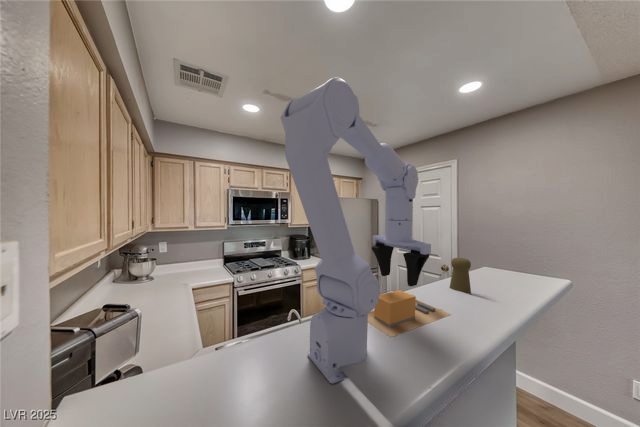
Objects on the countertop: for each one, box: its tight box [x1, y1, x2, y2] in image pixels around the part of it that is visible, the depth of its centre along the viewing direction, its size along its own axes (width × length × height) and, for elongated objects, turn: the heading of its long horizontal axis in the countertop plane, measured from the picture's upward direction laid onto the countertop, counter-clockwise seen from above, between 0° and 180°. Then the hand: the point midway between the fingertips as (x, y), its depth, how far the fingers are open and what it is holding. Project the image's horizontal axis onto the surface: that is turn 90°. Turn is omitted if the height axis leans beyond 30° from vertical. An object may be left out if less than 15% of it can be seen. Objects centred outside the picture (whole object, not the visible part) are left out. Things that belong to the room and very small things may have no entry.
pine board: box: [368, 299, 452, 338], centre depth 53 cm, size 20×10×2 cm, turn 120°
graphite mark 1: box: [415, 305, 429, 314], centre depth 56 cm, size 1×4×1 cm, turn 30°
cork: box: [449, 257, 472, 296], centre depth 72 cm, size 6×6×11 cm
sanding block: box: [373, 289, 417, 327], centre depth 52 cm, size 8×4×5 cm, turn 120°
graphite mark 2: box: [417, 301, 436, 312], centre depth 57 cm, size 1×4×1 cm, turn 30°
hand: (398, 280), depth 52 cm, fingers open, 7 cm apart
